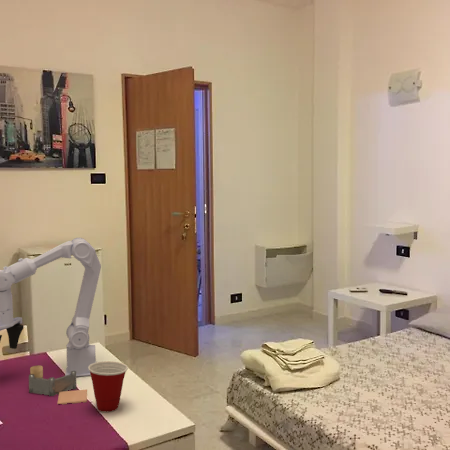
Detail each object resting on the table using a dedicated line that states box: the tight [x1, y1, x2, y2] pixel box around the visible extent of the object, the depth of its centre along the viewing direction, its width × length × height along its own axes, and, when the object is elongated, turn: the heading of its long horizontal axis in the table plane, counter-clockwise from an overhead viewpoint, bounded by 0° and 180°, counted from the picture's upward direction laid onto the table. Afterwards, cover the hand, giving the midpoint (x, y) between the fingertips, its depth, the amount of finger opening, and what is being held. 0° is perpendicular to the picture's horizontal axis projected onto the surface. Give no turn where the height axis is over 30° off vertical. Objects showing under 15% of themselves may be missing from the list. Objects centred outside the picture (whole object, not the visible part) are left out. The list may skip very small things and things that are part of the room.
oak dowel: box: [29, 364, 44, 379], centre depth 160 cm, size 4×4×6 cm
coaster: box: [57, 389, 88, 405], centre depth 153 cm, size 8×8×1 cm
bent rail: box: [28, 371, 77, 397], centre depth 156 cm, size 14×6×5 cm, turn 104°
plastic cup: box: [88, 360, 129, 413], centre depth 146 cm, size 11×11×12 cm
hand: (4, 352), depth 163 cm, fingers open, 7 cm apart
